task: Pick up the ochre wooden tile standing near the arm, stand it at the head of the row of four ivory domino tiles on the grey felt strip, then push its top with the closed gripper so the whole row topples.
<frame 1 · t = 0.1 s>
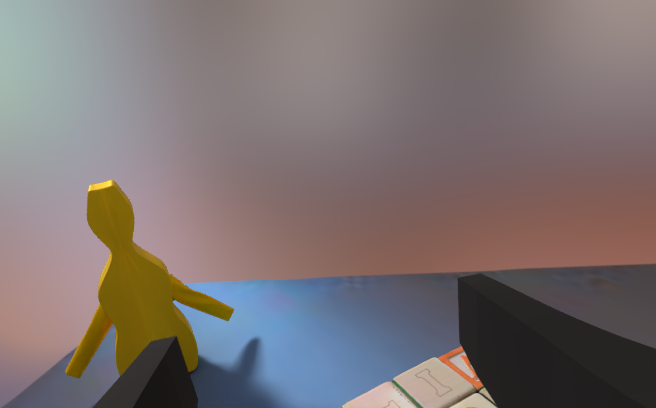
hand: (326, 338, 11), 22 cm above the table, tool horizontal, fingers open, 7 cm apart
figure statuette: (166, 374, 46), on the table
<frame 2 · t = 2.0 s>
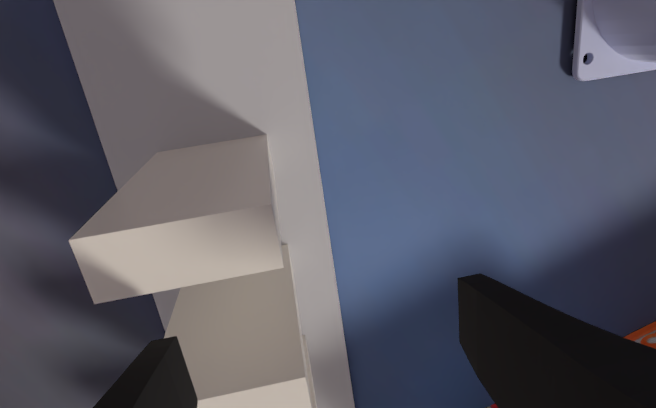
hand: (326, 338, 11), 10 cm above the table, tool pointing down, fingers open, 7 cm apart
felt strip: (249, 291, 22), on the table
domino 2: (217, 162, 19), resting on felt strip
domino 3: (242, 269, 21), resting on felt strip
stack of blocks: (601, 378, 28), on the table
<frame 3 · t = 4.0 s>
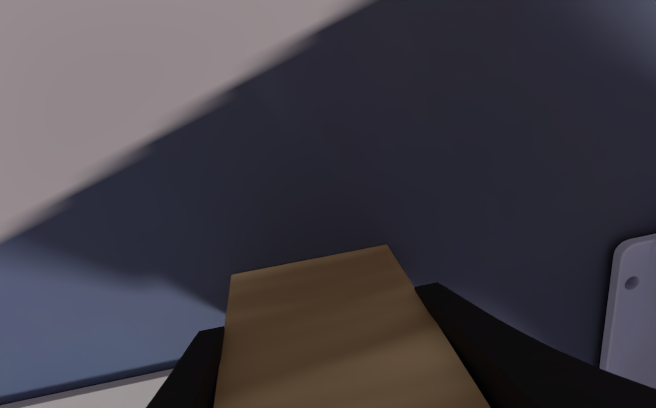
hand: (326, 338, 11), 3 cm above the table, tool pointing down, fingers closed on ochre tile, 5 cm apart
ochre tile: (314, 284, 13), on the table, touching gripper
when the fingers open (3 cm above the table, at t = 7.2 s): ochre tile stays where it is, resting on felt strip.
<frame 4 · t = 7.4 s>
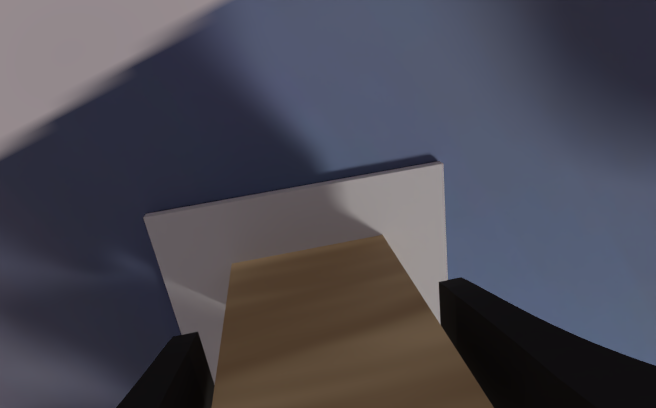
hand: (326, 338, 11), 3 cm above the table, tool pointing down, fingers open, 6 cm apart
ochre tile: (312, 273, 13), resting on felt strip
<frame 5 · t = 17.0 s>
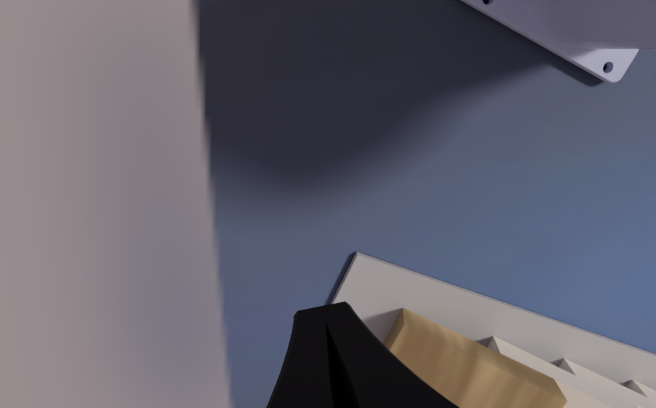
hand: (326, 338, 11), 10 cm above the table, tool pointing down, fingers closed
ochre tile: (383, 351, 23), point 1 cm above the table, tilted 72°, touching domino 2, felt strip
felt strip: (546, 385, 27), on the table
domino 2: (475, 376, 24), point 1 cm above the table, tilted 71°, touching domino 3, felt strip, ochre tile
domino 3: (548, 396, 26), point 1 cm above the table, tilted 72°, touching domino 2, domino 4, felt strip
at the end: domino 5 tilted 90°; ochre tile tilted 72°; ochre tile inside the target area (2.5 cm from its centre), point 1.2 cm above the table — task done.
